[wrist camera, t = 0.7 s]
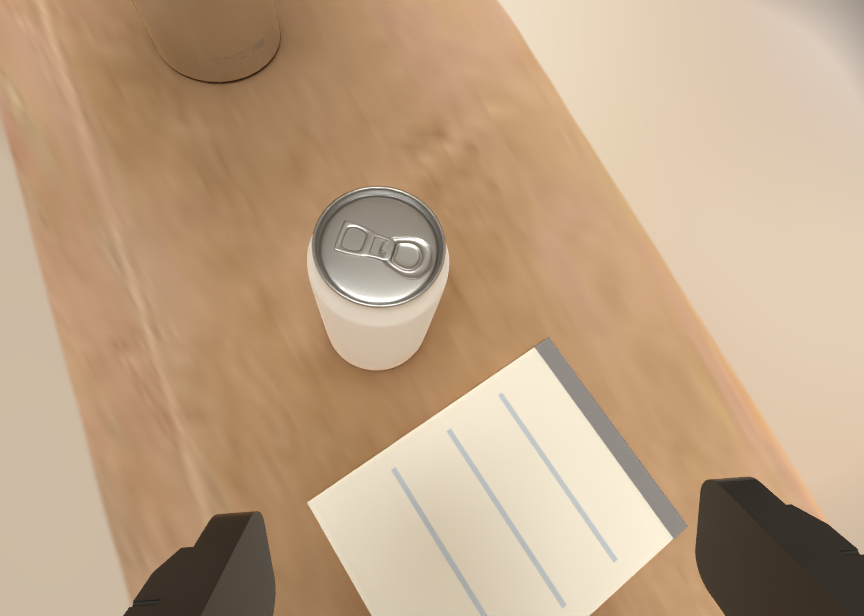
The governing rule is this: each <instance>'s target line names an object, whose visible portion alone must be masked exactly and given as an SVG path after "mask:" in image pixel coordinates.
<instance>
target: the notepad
mask: <svg viewBox="0 0 864 616" xmlns="http://www.w3.org/2000/svg"><path fill="white" fill-rule="evenodd" d="M307 503H308V505H309V507H310V508H311V510H312V512H313V514H314V515H315V517H316V519H317V521H318V523H319V524H320V526H321V528H322V530H323V531H324V533H325V535H326V537H327V538H328V540H329V542H330V544H331V545H332V547H333V549H334V551H335V552H336V554H337V556H338V558H339V559H340V561H341V563H342V565H343V566H344V568H345V570H346V572H347V573H348V575H349V577H350V579H351V580H352V582H353V584H354V586H355V587H356V589H357V591H358V593H359V595H360V596H361V598H362V600H363V602H364V603H365V605H366V607H367V609H368V610H369V612H370V614H371V616H589V615H591V614H592V613H593V612H594V611H595V610H596V609H597V608H598V607H599V606H600V605H601V604H603V603H604V602H605V601H606V600H607V599H608V598H609V597H610V596H611V595H612V594H613V593H615V592H616V591H617V590H618V589H619V588H620V587H621V586H622V585H623V584H624V583H625V582H626V581H628V580H629V579H630V578H631V577H632V576H633V575H634V574H635V573H636V572H637V571H638V570H640V569H641V568H642V567H643V566H644V565H645V564H646V563H647V562H648V561H649V560H650V559H652V558H653V557H654V556H655V555H656V554H657V553H658V552H659V551H660V550H661V549H662V548H664V547H665V546H666V545H667V544H668V543H669V542H670V541H671V540H672V539H673V538H674V539H675V538H676V537H677V536H678V535H679V534H680V533H681V532H682V531H683V530H684V529H685V528H687V527H688V526H687V524H686V523H685V522H684V520H683V519H682V517H681V516H680V515H679V513H678V512H677V511H676V509H675V508H674V507H673V505H672V504H671V503H670V501H669V500H668V498H667V497H666V496H665V494H664V493H663V492H662V490H661V489H660V488H659V486H658V485H657V483H656V482H655V481H654V479H653V478H652V477H651V475H650V474H649V473H648V471H647V470H646V469H645V467H644V466H643V464H642V463H641V462H640V460H639V459H638V458H637V456H636V455H635V454H634V452H633V451H632V449H631V448H630V447H629V445H628V444H627V443H626V441H625V440H624V439H623V437H622V436H621V435H620V433H619V432H618V430H617V429H616V428H615V426H614V425H613V424H612V422H611V421H610V420H609V418H608V417H607V415H606V414H605V413H604V411H603V410H602V409H601V407H600V406H599V405H598V403H597V402H596V401H595V399H594V398H593V396H592V395H591V394H590V392H589V391H588V390H587V388H586V387H585V386H584V384H583V383H582V381H581V380H580V379H579V377H578V376H577V375H576V373H575V372H574V371H573V369H572V368H571V367H570V365H569V364H568V362H567V361H566V360H565V358H564V357H563V356H562V354H561V353H560V352H559V350H558V349H557V348H556V346H555V345H554V343H553V342H552V341H551V339H550V338H549V337H548V338H547V339H545V340H544V341H543V342H541V343H540V344H538V345H537V346H535V347H534V348H532V349H531V350H529V351H528V352H526V353H525V354H524V355H522V356H521V357H519V358H518V359H516V360H515V361H513V362H512V363H510V364H509V365H507V366H506V367H505V368H503V369H502V370H500V371H499V372H497V373H496V374H494V375H493V376H491V377H490V378H488V379H487V380H486V381H484V382H483V383H481V384H480V385H478V386H477V387H475V388H474V389H472V390H471V391H469V392H468V393H467V394H465V395H464V396H462V397H461V398H459V399H458V400H456V401H455V402H453V403H452V404H450V405H449V406H448V407H446V408H445V409H443V410H442V411H440V412H439V413H437V414H436V415H434V416H433V417H431V418H430V419H429V420H427V421H426V422H424V423H423V424H421V425H420V426H418V427H417V428H415V429H414V430H412V431H411V432H410V433H408V434H407V435H405V436H404V437H402V438H401V439H399V440H398V441H396V442H395V443H393V444H392V445H391V446H389V447H388V448H386V449H385V450H383V451H382V452H380V453H379V454H377V455H376V456H374V457H373V458H371V459H370V460H369V461H367V462H366V463H364V464H363V465H361V466H360V467H358V468H357V469H355V470H354V471H352V472H351V473H350V474H348V475H347V476H345V477H344V478H342V479H341V480H339V481H338V482H336V483H335V484H333V485H332V486H331V487H329V488H328V489H326V490H325V491H323V492H322V493H320V494H319V495H317V496H316V497H314V498H313V499H312V500H310V501H309V502H307Z"/></svg>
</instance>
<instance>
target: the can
mask: <svg viewBox="0 0 864 616" xmlns="http://www.w3.org/2000/svg"><path fill="white" fill-rule="evenodd" d="M307 270H308V276H309V280H310V284H311V287H312V290H313V294H314V297H315V300H316V303H317V306H318V309H319V312H320V315H321V318H322V320H323V323H324V326H325V329H326V332H327V335H328V337H329V340H330V342H331V344H332V346H333V347H334V349H335V350H336V351H337V353H338V354H339V355H340V356H341V357H342V358H343V359H344V360H346V361H347V362H349V363H350V364H352V365H354V366H356V367H359V368H362V369H366V370H386V369H391V368H394V367H396V366H398V365H400V364H402V363H404V362H405V361H407V360H408V359H409V358H410V357H412V356H413V355H414V353H415V352H416V351H417V350H418V349H419V347H420V346H421V344H422V342H423V340H424V337H425V335H426V333H427V330H428V328H429V326H430V323H431V321H432V319H433V316H434V314H435V311H436V309H437V306H438V304H439V301H440V299H441V296H442V294H443V291H444V288H445V285H446V282H447V278H448V272H449V254H448V249H447V245H446V242H445V236H444V232H443V229H442V227H441V224H440V222H439V220H438V219H437V217H436V216H435V214H434V213H433V212H432V210H431V209H430V208H429V207H428V206H427V205H426V204H425V203H424V202H422V201H421V200H420V199H418V198H417V197H415V196H413V195H412V194H410V193H408V192H405V191H403V190H400V189H396V188H392V187H386V186H369V187H363V188H358V189H355V190H352V191H350V192H347V193H345V194H343V195H342V196H340V197H338V198H337V199H336V200H334V201H333V202H332V203H331V204H330V205H329V206H328V207H327V208H326V209H325V210H324V211H323V213H322V214H321V216H320V217H319V219H318V221H317V223H316V226H315V228H314V232H313V235H312V238H311V240H310V243H309V247H308V253H307Z"/></svg>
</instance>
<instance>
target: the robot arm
mask: <svg viewBox="0 0 864 616" xmlns="http://www.w3.org/2000/svg"><path fill="white" fill-rule="evenodd" d="M132 1H133V4H134V6H135V7H136V9H137V11H138V13H139V15H140V17H141V19H142V21H143V23H144V25H145V27H146V29H147V31H148V33H149V35H150V37H151V38H152V40H153V42H154V44H155V46H156V48H157V50H158V52H159V53H160V55H161V57H162V58H163V60H164V61H165V62H166V63H167V64H168V65H169V66H170V67H172V68H173V69H175V70H176V71H178V72H179V73H181V74H183V75H186V76H188V77H191V78H193V79H197V80H202V81H207V82H225V81H233V80H237V79H241V78H244V77H247V76H249V75H251V74H253V73H255V72H257V71H259V70H260V69H261V68H263V67H264V66H265V65H267V64H268V63H269V61H270V60H271V59H272V58H273V56H274V55H275V53H276V51H277V49H278V47H279V42H280V28H279V23H278V18H277V13H276V8H275V3H274V0H132ZM695 554H696V562H697V566H698V570H699V573H700V576H701V578H702V581H703V583H704V585H705V587H706V588H707V590H708V591H709V593H710V594H711V596H712V597H713V599H714V600H715V601H716V603H717V604H718V606H719V607H720V609H721V610H722V611H723V613H724V614H725V616H864V555H860V554H859V552H858V549H857V548H856V547H854V546H853V545H852V544H851V543H850V542H849V541H847V540H846V539H845V538H844V537H843V536H841V535H840V534H839V533H838V532H837V531H835V530H834V529H833V528H832V527H831V526H829V525H828V524H827V523H825V522H823V521H821V520H819V519H817V518H815V517H814V516H812V515H810V514H808V513H806V512H804V511H803V510H801V509H799V508H797V507H795V506H793V505H786V504H784V503H783V502H782V501H781V500H780V499H779V498H778V497H776V496H775V495H774V494H773V493H772V492H771V491H770V490H769V489H767V488H766V487H765V486H764V485H763V484H762V483H761V482H759V481H758V480H757V479H755V478H753V477H738V478H724V479H711V480H706V481H705V482H704V483H703V484H702V487H701V492H700V503H699V514H698V526H697V537H696V549H695ZM274 604H275V578H274V573H273V567H272V562H271V556H270V551H269V545H268V540H267V535H266V529H265V524H264V519H263V516H262V514H261V513H260V512H258V511H256V512H242V513H228V514H217V515H215V516H213V517H212V518H211V520H210V521H209V523H208V524H207V526H206V527H205V529H204V531H203V532H202V534H201V536H200V537H199V539H198V540H197V542H196V544H195V545H194V547H187V548H181V549H179V550H178V551H177V552H176V553H175V554H174V555H173V556H171V557H170V558H169V559H168V560H167V561H166V562H165V563H163V564H162V565H161V566H160V567H159V568H158V569H156V570H155V571H154V572H153V573H152V575H151V576H150V578H149V579H148V581H147V582H146V583H145V585H144V586H143V588H142V589H141V591H140V592H139V594H138V595H137V597H136V598H135V600H134V601H133V606H132V607H129V608H128V610H127V611H126V613H125V614H124V616H273V611H274Z"/></svg>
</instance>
